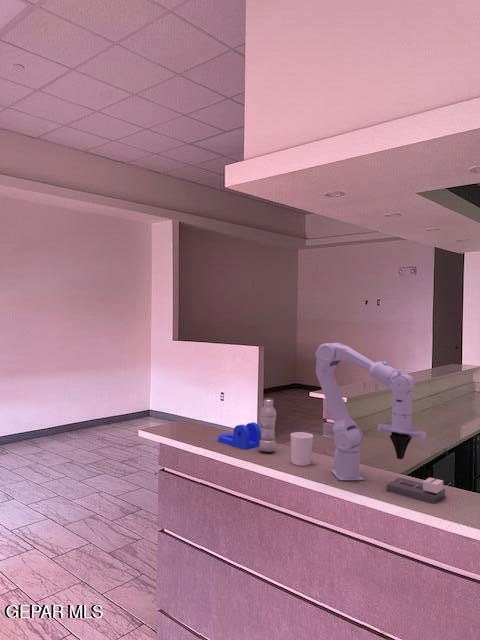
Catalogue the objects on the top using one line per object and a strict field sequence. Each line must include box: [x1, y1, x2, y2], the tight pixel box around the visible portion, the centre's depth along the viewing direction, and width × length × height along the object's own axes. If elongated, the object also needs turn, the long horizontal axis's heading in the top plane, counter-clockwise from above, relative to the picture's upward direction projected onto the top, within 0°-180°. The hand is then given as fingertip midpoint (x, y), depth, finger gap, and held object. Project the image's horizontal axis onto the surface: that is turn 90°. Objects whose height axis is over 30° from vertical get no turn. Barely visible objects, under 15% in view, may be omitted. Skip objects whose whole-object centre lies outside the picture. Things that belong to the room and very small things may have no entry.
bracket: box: [217, 422, 261, 451], centre depth 197 cm, size 18×8×9 cm, turn 45°
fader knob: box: [422, 476, 444, 493], centre depth 143 cm, size 4×5×3 cm
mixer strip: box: [386, 477, 446, 504], centre depth 146 cm, size 14×9×2 cm, turn 49°
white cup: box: [290, 431, 314, 467], centre depth 173 cm, size 8×8×10 cm
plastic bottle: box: [258, 398, 277, 453], centre depth 186 cm, size 6×7×20 cm
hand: (400, 458), depth 150 cm, fingers closed
